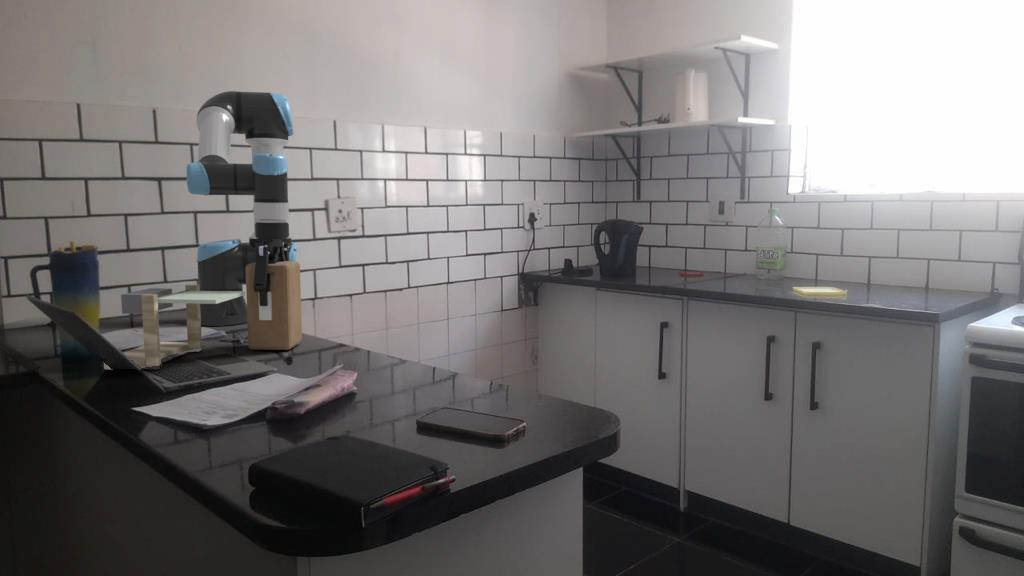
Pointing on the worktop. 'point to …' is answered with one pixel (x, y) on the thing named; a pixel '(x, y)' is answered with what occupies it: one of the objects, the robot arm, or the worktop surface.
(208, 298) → the trapdoor
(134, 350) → the trapdoor frame
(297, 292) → the wooden block
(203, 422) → the worktop surface
